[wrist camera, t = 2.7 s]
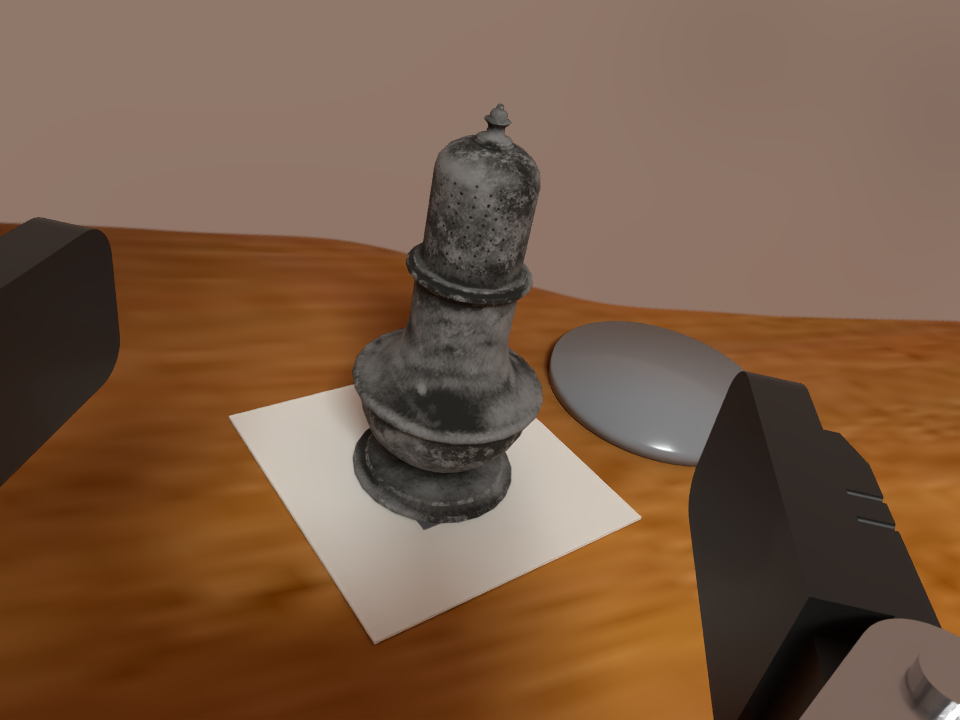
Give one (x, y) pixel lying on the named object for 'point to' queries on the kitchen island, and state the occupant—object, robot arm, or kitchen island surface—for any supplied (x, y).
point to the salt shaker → (455, 342)
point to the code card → (417, 544)
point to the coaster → (642, 387)
